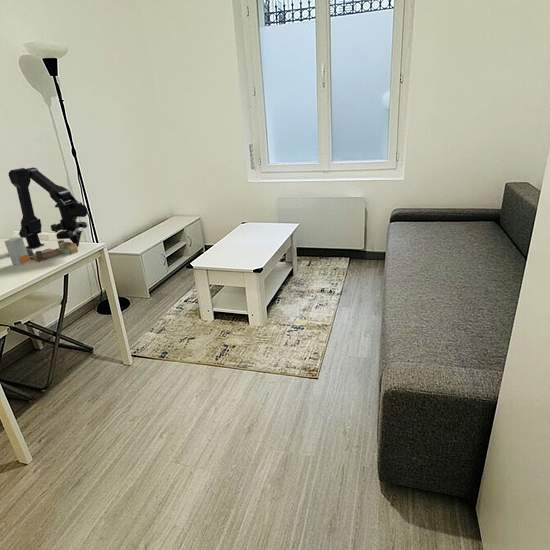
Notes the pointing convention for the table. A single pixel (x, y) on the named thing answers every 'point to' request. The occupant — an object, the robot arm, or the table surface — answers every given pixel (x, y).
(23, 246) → the skincare box
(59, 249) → the socket cleat
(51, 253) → the stool seat
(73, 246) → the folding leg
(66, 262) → the table surface
